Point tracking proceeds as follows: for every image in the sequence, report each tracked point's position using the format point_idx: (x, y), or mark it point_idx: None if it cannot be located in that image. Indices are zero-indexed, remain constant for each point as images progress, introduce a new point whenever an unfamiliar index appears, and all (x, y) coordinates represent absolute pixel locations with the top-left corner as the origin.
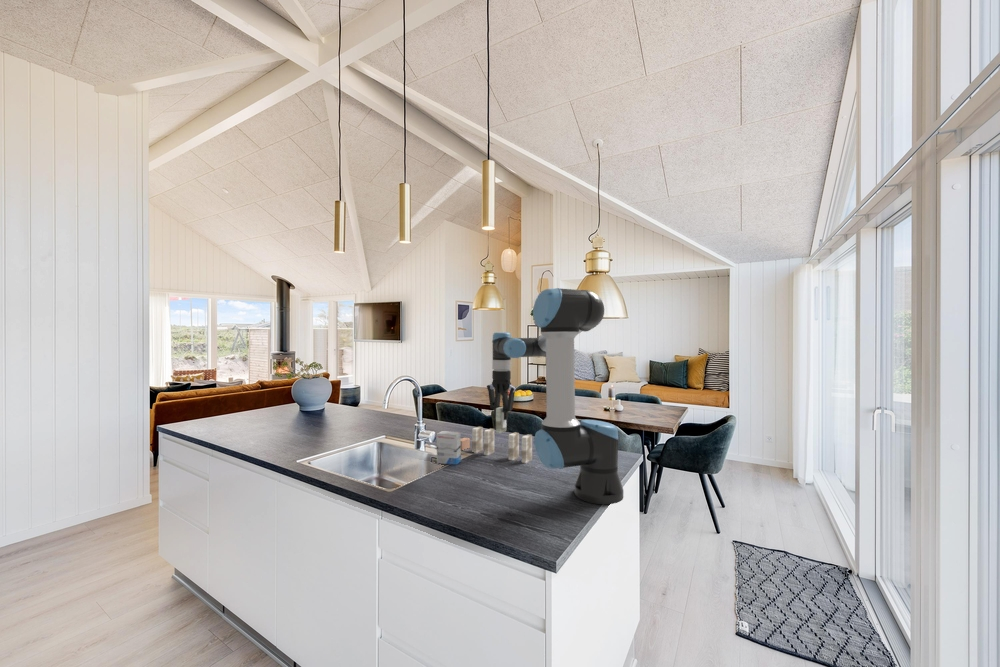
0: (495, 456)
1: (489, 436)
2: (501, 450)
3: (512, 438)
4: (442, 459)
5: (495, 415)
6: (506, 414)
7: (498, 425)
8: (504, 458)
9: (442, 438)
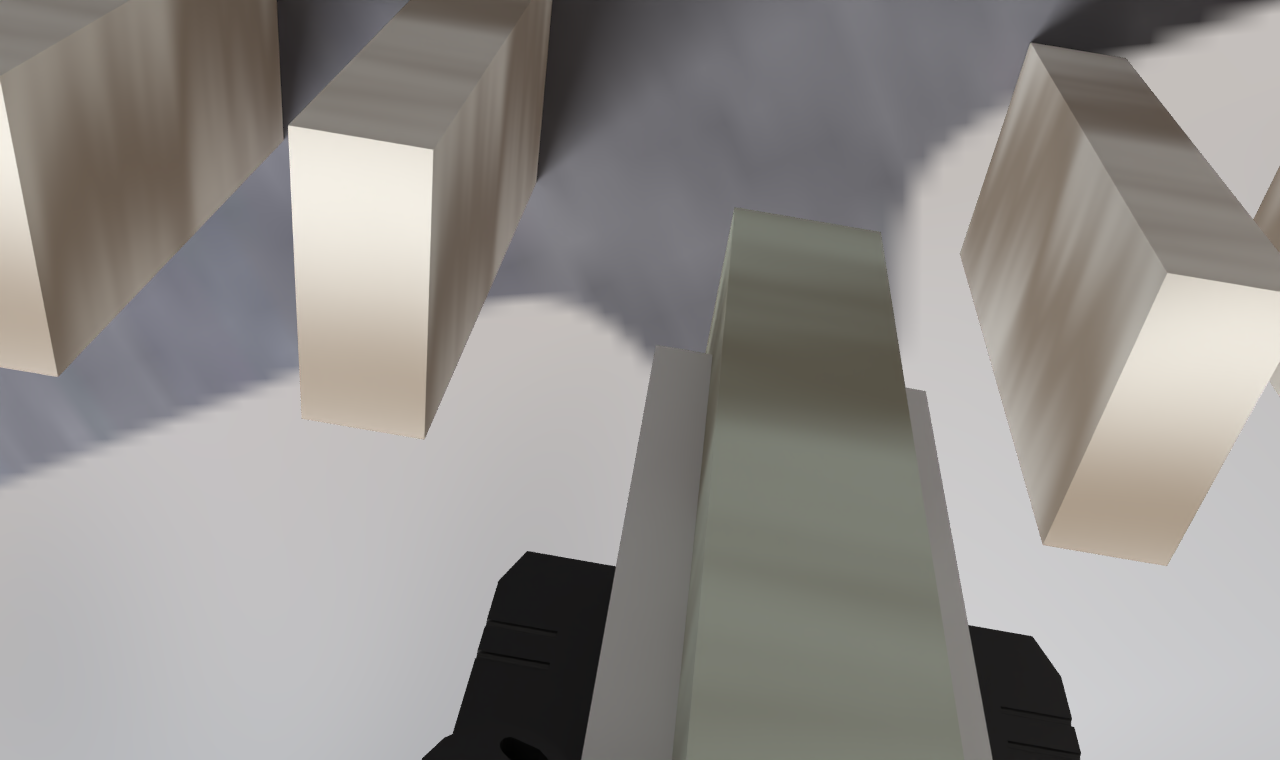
0: (863, 53)
1: (1093, 272)
2: None
3: (330, 97)
4: None
5: (1021, 725)
6: (456, 724)
7: (789, 338)
8: (657, 9)
9: None
